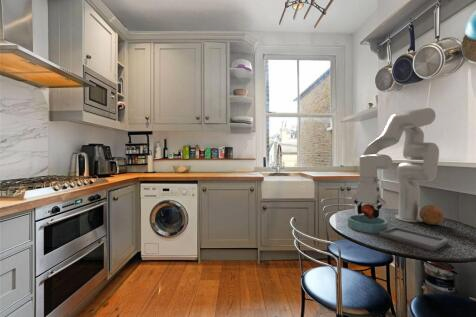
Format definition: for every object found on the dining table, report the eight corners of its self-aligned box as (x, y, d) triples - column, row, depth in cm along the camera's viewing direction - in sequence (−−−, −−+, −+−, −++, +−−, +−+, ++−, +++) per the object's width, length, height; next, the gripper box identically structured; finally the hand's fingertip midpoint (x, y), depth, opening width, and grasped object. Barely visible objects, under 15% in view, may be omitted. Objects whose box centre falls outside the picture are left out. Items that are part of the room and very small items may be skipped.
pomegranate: (367, 225, 118) (384, 212, 117) (357, 213, 119) (374, 200, 118) (361, 222, 125) (377, 210, 125) (352, 210, 126) (368, 198, 126)
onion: (448, 226, 123) (449, 206, 123) (434, 228, 120) (434, 208, 120) (428, 220, 132) (428, 202, 132) (414, 222, 129) (415, 203, 129)
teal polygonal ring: (360, 220, 134) (360, 213, 133) (393, 228, 119) (393, 220, 119) (341, 225, 124) (341, 217, 124) (375, 235, 110) (375, 226, 110)
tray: (394, 230, 117) (394, 226, 117) (447, 243, 100) (447, 239, 100) (379, 236, 109) (379, 231, 109) (434, 251, 92) (434, 246, 92)
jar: (374, 216, 141) (374, 196, 141) (365, 218, 137) (366, 197, 137) (360, 213, 149) (360, 193, 149) (351, 214, 145) (351, 194, 145)
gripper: (390, 181, 116) (390, 218, 117) (355, 178, 130) (355, 210, 131) (382, 182, 112) (382, 221, 112) (347, 179, 126) (347, 213, 127)
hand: (367, 215), depth 122 cm, fingers closed on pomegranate, 7 cm apart
